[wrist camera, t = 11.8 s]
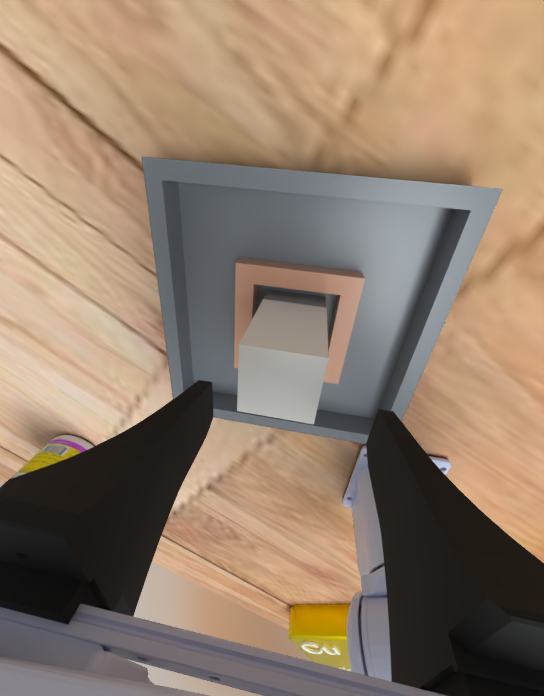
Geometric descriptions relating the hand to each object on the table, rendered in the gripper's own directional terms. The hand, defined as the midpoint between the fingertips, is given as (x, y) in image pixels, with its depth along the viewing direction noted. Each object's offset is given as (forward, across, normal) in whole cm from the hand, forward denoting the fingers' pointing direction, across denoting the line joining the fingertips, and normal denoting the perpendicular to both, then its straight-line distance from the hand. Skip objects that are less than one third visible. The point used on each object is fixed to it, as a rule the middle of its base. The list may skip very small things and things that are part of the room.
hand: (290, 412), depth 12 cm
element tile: (+11, -15, +56) cm, 58 cm away
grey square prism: (+9, +1, 0) cm, 9 cm away
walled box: (+10, +1, 0) cm, 10 cm away
